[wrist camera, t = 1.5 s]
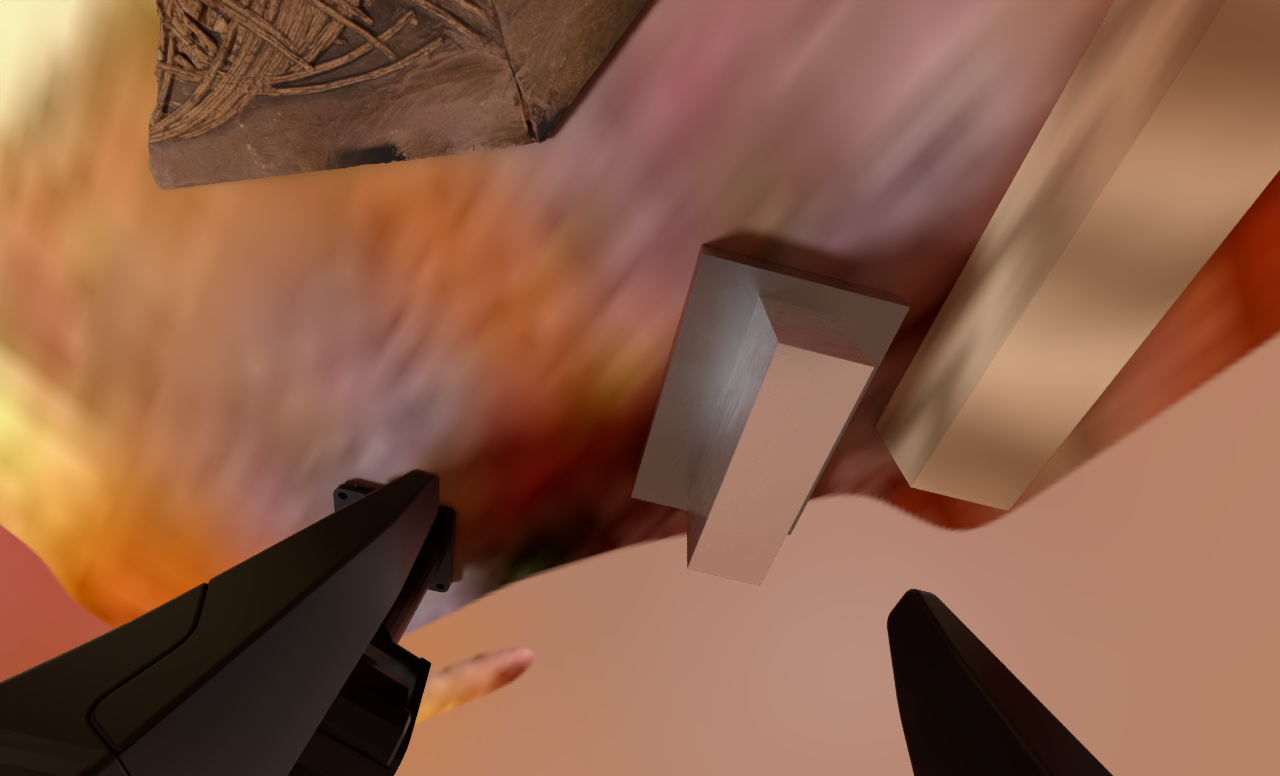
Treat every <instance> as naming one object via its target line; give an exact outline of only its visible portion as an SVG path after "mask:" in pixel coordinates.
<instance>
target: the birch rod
mask: <svg viewBox="0 0 1280 776" xmlns="http://www.w3.org/2000/svg"><path fill="white" fill-rule="evenodd" d="M1279 170H1280V0H1114V1H1113V3H1112V5H1111V6H1110V8H1109V10H1108V12H1107V14H1106V15H1105V17H1104V19H1103V21H1102V23H1101V24H1100V26H1099V28H1098V30H1097V31H1096V33H1095V35H1094V37H1093V39H1092V40H1091V42H1090V44H1089V46H1088V47H1087V49H1086V51H1085V53H1084V55H1083V56H1082V58H1081V60H1080V62H1079V64H1078V65H1077V67H1076V69H1075V71H1074V72H1073V74H1072V76H1071V78H1070V80H1069V81H1068V83H1067V85H1066V87H1065V89H1064V90H1063V92H1062V94H1061V96H1060V97H1059V99H1058V101H1057V103H1056V105H1055V106H1054V108H1053V110H1052V112H1051V113H1050V115H1049V117H1048V119H1047V121H1046V122H1045V124H1044V126H1043V128H1042V130H1041V131H1040V133H1039V135H1038V137H1037V138H1036V140H1035V142H1034V144H1033V146H1032V147H1031V149H1030V151H1029V153H1028V154H1027V156H1026V158H1025V160H1024V162H1023V163H1022V165H1021V167H1020V169H1019V171H1018V172H1017V174H1016V176H1015V178H1014V179H1013V181H1012V183H1011V185H1010V187H1009V188H1008V190H1007V192H1006V194H1005V196H1004V197H1003V199H1002V201H1001V203H1000V204H999V206H998V208H997V210H996V212H995V213H994V215H993V217H992V219H991V220H990V222H989V224H988V226H987V228H986V229H985V231H984V233H983V235H982V237H981V238H980V240H979V242H978V244H977V245H976V247H975V249H974V251H973V253H972V254H971V256H970V258H969V260H968V261H967V263H966V265H965V267H964V269H963V270H962V272H961V274H960V276H959V278H958V279H957V281H956V283H955V285H954V286H953V288H952V290H951V292H950V294H949V295H948V297H947V299H946V301H945V303H944V304H943V306H942V308H941V310H940V311H939V313H938V315H937V317H936V319H935V320H934V322H933V324H932V326H931V327H930V329H929V331H928V333H927V335H926V336H925V338H924V340H923V342H922V344H921V345H920V347H919V349H918V351H917V352H916V354H915V356H914V358H913V360H912V361H911V363H910V365H909V367H908V369H907V370H906V372H905V374H904V376H903V377H902V379H901V381H900V383H899V385H898V386H897V388H896V390H895V392H894V393H893V395H892V397H891V399H890V401H889V402H888V404H887V406H886V408H885V410H884V411H883V413H882V415H881V417H880V418H879V420H878V422H877V424H876V426H875V427H874V428H875V429H876V431H877V433H878V434H879V436H880V438H881V439H882V441H883V442H884V444H885V446H886V447H887V449H888V451H889V452H890V454H891V456H892V457H893V459H894V460H895V462H896V464H897V465H898V467H899V469H900V470H901V472H902V474H903V475H904V477H905V478H906V480H907V482H908V483H909V485H910V487H912V488H916V489H921V490H925V491H929V492H933V493H937V494H941V495H945V496H949V497H953V498H957V499H961V500H966V501H970V502H974V503H978V504H982V505H986V506H990V507H994V508H998V509H1002V510H1007V511H1009V509H1010V508H1011V507H1012V506H1013V504H1014V503H1015V502H1016V501H1017V499H1018V498H1019V497H1020V496H1021V494H1022V493H1023V492H1024V491H1025V489H1026V488H1027V487H1028V486H1029V484H1030V483H1031V482H1032V481H1033V479H1034V478H1035V477H1036V476H1037V474H1038V473H1039V472H1040V471H1041V469H1042V468H1043V467H1044V466H1045V464H1046V463H1047V462H1048V460H1049V459H1050V458H1051V457H1052V455H1053V454H1054V453H1055V452H1056V450H1057V449H1058V448H1059V447H1060V445H1061V444H1062V443H1063V442H1064V440H1065V439H1066V438H1067V437H1068V435H1069V434H1070V433H1071V432H1072V430H1073V429H1074V428H1075V427H1076V425H1077V424H1078V423H1079V422H1080V420H1081V419H1082V418H1083V417H1084V415H1085V414H1086V413H1087V411H1088V410H1089V409H1090V408H1091V406H1092V405H1093V404H1094V403H1095V401H1096V400H1097V399H1098V398H1099V396H1100V395H1101V394H1102V393H1103V391H1104V390H1105V389H1106V388H1107V386H1108V385H1109V384H1110V383H1111V381H1112V380H1113V379H1114V378H1115V376H1116V375H1117V374H1118V373H1119V371H1120V370H1121V369H1122V368H1123V366H1124V365H1125V364H1126V362H1127V361H1128V360H1129V359H1130V357H1131V356H1132V355H1133V354H1134V352H1135V351H1136V350H1137V349H1138V347H1139V346H1140V345H1141V344H1142V342H1143V341H1144V340H1145V339H1146V337H1147V336H1148V335H1149V334H1150V332H1151V331H1152V330H1153V329H1154V327H1155V326H1156V325H1157V324H1158V322H1159V321H1160V320H1161V319H1162V317H1163V316H1164V315H1165V313H1166V312H1167V311H1168V310H1169V308H1170V307H1171V306H1172V305H1173V303H1174V302H1175V301H1176V300H1177V298H1178V297H1179V296H1180V295H1181V293H1182V292H1183V291H1184V290H1185V288H1186V287H1187V286H1188V285H1189V283H1190V282H1191V281H1192V280H1193V278H1194V277H1195V276H1196V275H1197V273H1198V272H1199V271H1200V270H1201V268H1202V267H1203V266H1204V264H1205V263H1206V262H1207V261H1208V259H1209V258H1210V257H1211V256H1212V254H1213V253H1214V252H1215V251H1216V249H1217V248H1218V247H1219V246H1220V244H1221V243H1222V242H1223V241H1224V239H1225V238H1226V237H1227V236H1228V234H1229V233H1230V232H1231V231H1232V229H1233V228H1234V227H1235V226H1236V224H1237V223H1238V222H1239V221H1240V219H1241V218H1242V217H1243V215H1244V214H1245V213H1246V212H1247V210H1248V209H1249V208H1250V207H1251V205H1252V204H1253V203H1254V202H1255V200H1256V199H1257V198H1258V197H1259V195H1260V194H1261V193H1262V192H1263V190H1264V189H1265V188H1266V187H1267V185H1268V184H1269V183H1270V182H1271V180H1272V179H1273V178H1274V177H1275V175H1276V174H1277V173H1278V172H1279Z"/></svg>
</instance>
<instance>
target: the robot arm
mask: <svg viewBox="0 0 1280 776" xmlns="http://www.w3.org/2000/svg"><path fill="white" fill-rule="evenodd" d="M333 495H334V507H335V512H334V513H332V514H331V515H329V516H327V517H325V518H323V519H321V520H319V521H318V522H316V523H314V524H312V525H310V526H308V527H306V528H305V529H303V530H301V531H299V532H297V533H295V534H293V535H292V536H290V537H288V538H286V539H284V540H282V541H280V542H279V543H277V544H275V545H273V546H271V547H269V548H267V549H266V550H264V551H262V552H260V553H258V554H256V555H254V556H253V557H251V558H249V559H247V560H245V561H243V562H242V563H240V564H238V565H236V566H234V567H232V568H230V569H229V570H227V571H225V572H223V573H221V574H219V575H217V576H216V577H214V578H212V579H210V580H209V582H208V584H207V583H202V584H200V585H198V586H197V587H195V588H193V589H191V590H189V591H187V592H185V593H184V594H182V595H180V596H178V597H176V598H174V599H172V600H170V601H169V602H167V603H165V604H163V605H161V606H159V607H157V608H155V609H153V610H151V611H149V612H147V613H145V614H143V615H141V616H140V617H138V618H136V619H134V620H132V621H130V622H128V623H126V624H124V625H122V626H119V627H117V628H115V629H113V630H111V631H109V632H107V633H105V634H103V635H101V636H99V637H97V638H94V639H92V640H90V641H88V642H86V643H84V644H82V645H80V646H78V647H76V648H74V649H71V650H69V651H67V652H65V653H63V654H61V655H58V656H56V657H54V658H52V659H50V660H48V661H45V662H43V663H41V664H39V665H37V666H35V667H33V668H30V669H28V670H26V671H24V672H22V673H20V674H17V675H15V676H13V677H11V678H9V679H6V680H4V681H2V682H0V776H394V774H395V773H396V771H397V769H398V767H399V765H400V763H401V761H402V759H403V757H404V755H405V752H406V750H407V748H408V745H409V741H410V739H411V735H412V732H413V728H414V724H415V721H416V717H417V714H418V710H419V706H420V703H421V699H422V695H423V692H424V688H425V685H426V681H427V677H428V674H429V670H430V666H431V663H430V662H429V661H427V660H426V659H424V658H418V657H417V656H415V655H414V654H412V653H411V652H409V651H407V650H406V649H404V648H403V647H401V646H400V645H398V643H399V641H400V639H401V637H402V635H403V633H404V632H405V630H406V628H407V626H408V624H409V622H410V621H411V619H412V617H413V615H414V613H415V611H416V610H417V608H418V606H419V604H420V602H421V600H422V599H423V597H424V595H425V593H426V591H427V589H429V590H433V591H437V592H446V591H448V589H449V587H450V585H451V583H452V569H453V556H454V542H455V529H456V513H455V511H454V510H452V509H451V508H448V507H444V506H439V476H438V475H437V474H436V473H433V472H429V471H425V470H421V469H415V470H412V471H410V472H408V473H407V474H405V475H403V476H401V477H399V478H397V479H395V480H394V481H392V482H390V483H388V484H386V485H384V486H382V487H381V488H379V489H377V490H370V489H366V488H362V487H357V486H353V485H349V484H341V485H339V486H338V487H337V488H336V490H335V491H334V493H333ZM445 516H446V517H445ZM447 517H448V518H447ZM887 630H888V637H889V645H890V652H891V659H892V666H893V673H894V680H895V688H896V695H897V701H898V707H899V712H900V718H901V722H902V727H903V731H904V735H905V739H906V743H907V748H908V752H909V756H910V760H911V765H912V769H913V773H914V776H1113V775H1112V774H1111V773H1110V772H1109V771H1108V770H1107V769H1106V768H1105V767H1104V766H1103V765H1102V764H1101V763H1100V762H1099V761H1098V760H1097V759H1096V758H1095V757H1094V756H1093V755H1092V754H1091V753H1090V752H1089V751H1088V750H1087V749H1086V748H1085V747H1084V746H1083V745H1082V744H1081V743H1080V742H1079V741H1078V740H1077V739H1076V738H1075V737H1074V736H1073V735H1072V733H1071V732H1070V731H1069V730H1068V729H1067V728H1066V727H1065V726H1063V724H1062V723H1061V722H1060V721H1059V720H1058V719H1057V718H1056V717H1055V716H1054V715H1053V714H1052V713H1051V712H1050V711H1049V710H1048V709H1047V708H1046V707H1045V706H1044V705H1043V704H1042V703H1041V702H1040V701H1039V700H1038V699H1037V698H1036V697H1035V696H1034V695H1033V694H1032V693H1031V692H1030V691H1029V690H1028V689H1027V688H1026V687H1025V686H1024V685H1023V684H1022V683H1021V682H1020V681H1019V680H1018V679H1017V678H1016V677H1015V675H1014V674H1012V673H1011V671H1010V670H1008V668H1006V666H1005V665H1004V664H1003V663H1002V662H1001V661H1000V660H999V659H998V658H997V657H996V656H995V655H994V654H993V653H992V652H991V651H990V650H989V649H988V648H987V647H986V646H985V645H984V644H983V643H982V642H981V641H980V640H979V639H978V638H977V637H976V636H975V635H974V634H973V633H972V632H971V631H970V630H969V629H968V628H967V627H966V626H965V625H964V624H963V623H962V622H961V621H960V620H959V619H958V618H957V616H956V615H954V613H952V612H951V610H950V609H949V608H948V607H947V606H946V605H945V604H944V603H943V602H942V601H941V600H940V599H939V598H938V597H936V595H934V594H932V593H929V592H925V591H921V590H917V589H910V590H908V591H907V592H906V593H905V594H904V596H903V597H902V598H901V599H900V601H899V602H898V603H897V604H896V606H895V607H894V608H893V610H892V611H891V612H890V614H889V617H888V621H887Z"/></svg>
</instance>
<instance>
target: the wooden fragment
mask: <svg viewBox="0 0 1280 776" xmlns="http://www.w3.org/2000/svg"><path fill="white" fill-rule="evenodd" d="M647 1H648V0H156V6H157V15H158V18H159V19H160V37H159V44H158V49H157V55H156V57H157V66H156V71H155V75H156V76H157V82H158V87H159V88H158V99H157V106H156V108H155V110H154V111H153V113H152V115H151V118H150V124H149V136H148V147H149V153H150V159H149V170H150V172H151V173H152V175H153V177H154V180H155V182H156V184H157V186H158V188H159V189H160V190H161V189H173V188H179V187H189V186H194V185H202V184H204V185H206V184H214V183H222V182H230V181H240V180H245V179H256V178H263V177H268V176H280V175H287V174H295V173H304V172H311V171H320V170H330V169H339V168H348V167H354V166H359V165H362V164H379V163H389V162H393V161H407V160H412V159H424V158H428V157H436V156H444V155H455V154H459V153H463V152H465V151H468V150H469V151H474V150H475V149H476V148H477V149H478V150H481V149H482V148H483V147H484V149H485V150H489V149H499V148H506V147H514V146H520V145H526V144H530V143H534V142H535V141H536V142H538V143H541V142H543V141H546V139H547V138H548V137H549V135H550V134H551V132H552V131H553V129H554V128H555V127H556V123H557V122H558V121H559V119H560V117H559V116H560V115H561V114H562V113H563V112H564V111H565V110H566V109H567V108H568V107H569V105H570V104H571V103H572V101H573V100H574V99H575V97H576V96H577V95H578V93H579V92H580V90H581V89H582V87H583V85H584V84H585V83H587V81H588V80H589V78H590V77H591V75H592V74H593V73H594V71H595V70H596V69H597V68H598V67H599V65H600V64H601V63H602V61H603V60H604V59H605V58H606V56H607V55H608V54H609V52H610V51H611V49H612V48H613V46H614V44H615V42H616V40H618V39H620V38H621V36H622V34H623V33H624V31H625V30H626V28H627V27H628V26H629V25H630V24H631V22H632V21H633V20H634V19H635V17H636V16H637V14H638V13H639V12H640V10H641V9H642V8H643V7H644V5H645V4H646V3H647ZM527 120H530V122H531V123H532V126H533V131H534V132H533V133H529V132H528V126H527V124H526V121H527ZM529 134H534V135H536V136H535V141H533V140H531V139H530V137H529Z"/></svg>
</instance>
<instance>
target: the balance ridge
mask: <svg viewBox="0 0 1280 776" xmlns="http://www.w3.org/2000/svg"><path fill="white" fill-rule="evenodd" d="M909 308H910V307H909V306H908V305H907V304H906V303H904V302H903V301H902V300H901V299H900V298H898V297H897V296H896V295H894V294H890V293H886V292H882V291H879V290H875V289H871V288H867V287H863V286H859V285H855V284H852V283H848V282H844V281H840V280H836V279H832V278H829V277H825V276H821V275H817V274H813V273H809V272H805V271H802V270H798V269H794V268H790V267H786V266H782V265H778V264H775V263H771V262H767V261H763V260H759V259H755V258H751V257H748V256H744V255H740V254H736V253H732V252H728V251H724V250H721V249H717V248H713V247H709V246H705V245H702V246H701V249H700V253H699V256H698V260H697V263H696V267H695V270H694V273H693V277H692V280H691V284H690V287H689V290H688V294H687V297H686V301H685V304H684V308H683V311H682V314H681V318H680V321H679V325H678V328H677V331H676V335H675V338H674V342H673V345H672V349H671V352H670V355H669V359H668V362H667V366H666V369H665V372H664V376H663V379H662V383H661V386H660V390H659V393H658V396H657V400H656V403H655V407H654V410H653V413H652V417H651V420H650V424H649V427H648V431H647V434H646V437H645V441H644V444H643V448H642V451H641V454H640V458H639V461H638V465H637V468H636V472H635V475H634V479H633V486H632V493H631V497H632V498H636V499H640V500H644V501H648V502H653V503H657V504H661V505H665V506H670V507H674V508H678V509H682V510H687V568H688V569H690V570H694V571H699V572H703V573H708V574H712V575H716V576H720V577H725V578H729V579H733V580H738V581H742V582H746V583H751V584H755V585H759V586H760V585H761V583H762V581H763V580H764V578H765V576H766V574H767V572H768V570H769V568H770V566H771V564H772V562H773V560H774V558H775V557H776V555H777V553H778V551H779V549H780V547H781V545H782V543H783V541H784V539H785V537H786V535H787V534H788V535H791V533H792V531H793V529H794V527H795V525H796V523H797V521H798V519H799V517H800V515H801V514H802V512H803V510H804V508H805V506H806V504H807V502H808V500H809V498H810V497H811V495H812V493H813V491H814V489H815V487H816V485H817V483H818V481H819V479H820V478H821V476H822V474H823V472H824V470H825V468H826V466H827V464H828V462H829V460H830V459H831V457H832V455H833V453H834V451H835V449H836V447H837V445H838V443H839V441H840V440H841V438H842V436H843V434H844V432H845V430H846V428H847V426H848V424H849V422H850V421H851V419H852V417H853V415H854V413H855V411H856V409H857V407H858V405H859V403H860V402H861V400H862V398H863V396H864V394H865V392H866V390H867V388H868V386H869V384H870V383H871V381H872V379H873V377H874V375H875V373H876V371H877V369H878V367H879V365H880V364H881V362H882V360H883V358H884V356H885V354H886V352H887V350H888V348H889V346H890V345H891V343H892V341H893V339H894V337H895V335H896V333H897V331H898V329H899V327H900V326H901V324H902V322H903V320H904V318H905V316H906V314H907V312H908V310H909Z"/></svg>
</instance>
